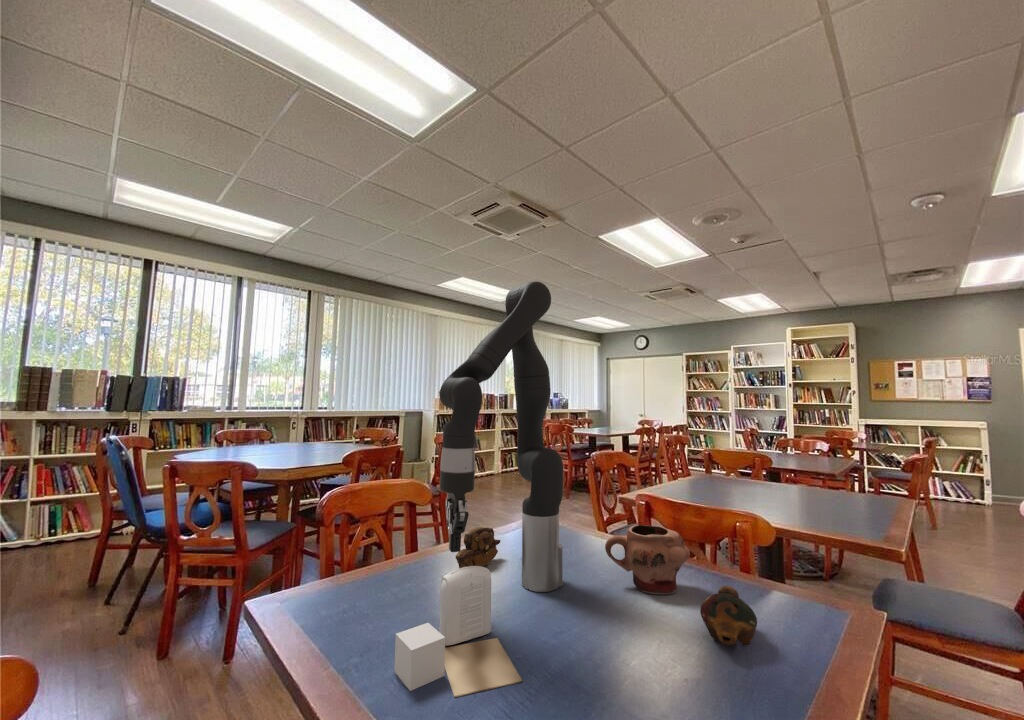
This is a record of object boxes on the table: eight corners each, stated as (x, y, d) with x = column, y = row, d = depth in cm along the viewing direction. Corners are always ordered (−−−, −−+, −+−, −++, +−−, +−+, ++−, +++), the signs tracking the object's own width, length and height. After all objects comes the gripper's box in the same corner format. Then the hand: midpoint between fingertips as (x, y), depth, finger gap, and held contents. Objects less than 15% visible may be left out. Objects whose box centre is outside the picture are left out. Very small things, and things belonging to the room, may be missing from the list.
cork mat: (497, 639, 79) (497, 637, 79) (522, 681, 67) (522, 680, 67) (438, 650, 76) (438, 648, 76) (454, 697, 63) (454, 696, 63)
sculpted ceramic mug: (611, 598, 96) (610, 535, 98) (601, 576, 108) (600, 521, 110) (699, 600, 96) (697, 536, 97) (679, 578, 108) (678, 522, 110)
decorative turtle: (753, 626, 85) (751, 585, 85) (764, 669, 71) (761, 619, 72) (701, 616, 89) (699, 576, 89) (701, 655, 75) (699, 607, 76)
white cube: (394, 672, 69) (395, 633, 70) (427, 659, 73) (428, 622, 74) (410, 691, 65) (411, 650, 65) (444, 676, 68) (445, 637, 69)
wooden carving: (467, 578, 107) (468, 537, 108) (453, 574, 109) (454, 534, 110) (503, 559, 120) (503, 522, 121) (490, 555, 123) (490, 520, 124)
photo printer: (483, 624, 84) (483, 559, 86) (494, 633, 81) (494, 565, 83) (435, 639, 79) (436, 569, 80) (445, 650, 75) (446, 576, 77)
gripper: (482, 472, 87) (479, 559, 85) (467, 464, 100) (464, 540, 98) (446, 473, 85) (442, 563, 83) (435, 464, 97) (432, 542, 95)
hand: (454, 550), depth 90 cm, fingers closed
